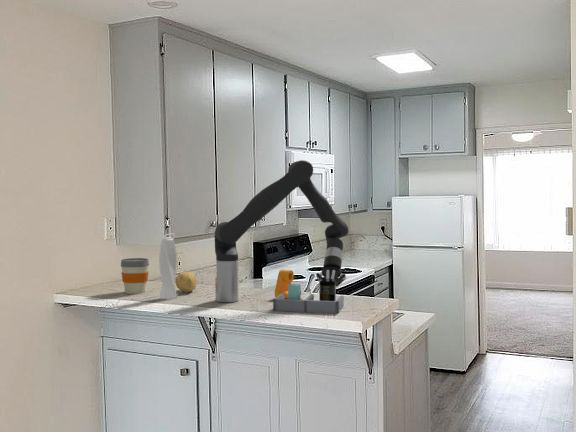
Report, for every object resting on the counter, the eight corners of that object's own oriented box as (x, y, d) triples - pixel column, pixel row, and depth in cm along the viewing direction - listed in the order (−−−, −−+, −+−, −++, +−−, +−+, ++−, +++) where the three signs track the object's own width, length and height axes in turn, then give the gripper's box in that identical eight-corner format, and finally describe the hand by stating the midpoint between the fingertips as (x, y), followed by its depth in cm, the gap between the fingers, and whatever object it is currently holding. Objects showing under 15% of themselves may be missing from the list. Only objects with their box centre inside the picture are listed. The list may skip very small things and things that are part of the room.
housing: (281, 303, 255) (281, 282, 255) (343, 306, 249) (343, 284, 249) (273, 310, 241) (273, 287, 241) (338, 313, 236) (338, 289, 235)
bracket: (288, 300, 264) (288, 272, 263) (274, 298, 268) (274, 270, 267) (302, 296, 273) (302, 269, 272) (288, 295, 277) (288, 268, 276)
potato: (169, 293, 281) (169, 272, 280) (186, 288, 294) (186, 268, 293) (188, 295, 277) (188, 273, 276) (205, 290, 290) (204, 269, 290)
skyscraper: (169, 295, 274) (168, 232, 273) (181, 297, 270) (180, 233, 269) (155, 298, 268) (155, 233, 267) (168, 300, 264) (167, 234, 262)
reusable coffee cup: (153, 292, 283) (153, 260, 282) (126, 295, 276) (126, 261, 275) (143, 289, 293) (142, 257, 292) (117, 291, 286) (116, 259, 285)
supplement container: (337, 307, 248) (337, 281, 247) (320, 307, 247) (320, 281, 247) (334, 304, 255) (334, 278, 254) (318, 304, 254) (318, 279, 254)
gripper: (316, 254, 265) (311, 287, 253) (347, 255, 262) (344, 288, 250) (318, 265, 270) (314, 298, 259) (349, 265, 267) (345, 299, 256)
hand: (328, 293), depth 255 cm, fingers closed
